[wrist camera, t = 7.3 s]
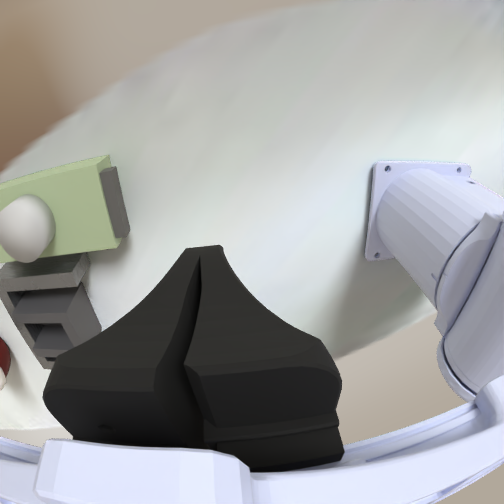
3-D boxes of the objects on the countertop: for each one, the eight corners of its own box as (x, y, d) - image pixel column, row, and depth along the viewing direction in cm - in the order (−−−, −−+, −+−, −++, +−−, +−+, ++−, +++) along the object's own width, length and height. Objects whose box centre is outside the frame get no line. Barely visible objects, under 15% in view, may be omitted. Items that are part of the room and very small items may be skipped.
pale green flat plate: (120, 152, 18) (95, 171, 14) (136, 229, 21) (120, 263, 17) (-7, 186, 18) (-40, 209, 14) (14, 247, 20) (-12, 277, 17)
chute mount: (85, 250, 21) (71, 272, 19) (125, 347, 27) (119, 371, 24) (7, 260, 21) (-9, 280, 18) (53, 347, 26) (43, 368, 24)
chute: (82, 280, 23) (65, 312, 19) (102, 325, 25) (90, 358, 22) (30, 285, 23) (11, 314, 19) (51, 326, 25) (37, 356, 22)
